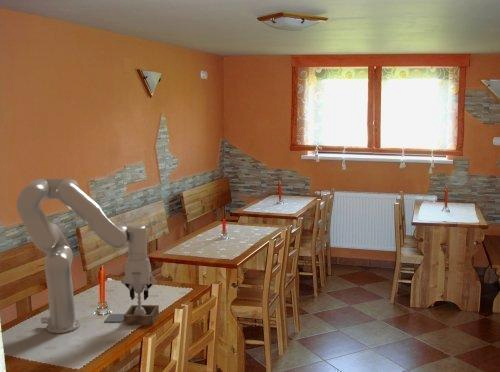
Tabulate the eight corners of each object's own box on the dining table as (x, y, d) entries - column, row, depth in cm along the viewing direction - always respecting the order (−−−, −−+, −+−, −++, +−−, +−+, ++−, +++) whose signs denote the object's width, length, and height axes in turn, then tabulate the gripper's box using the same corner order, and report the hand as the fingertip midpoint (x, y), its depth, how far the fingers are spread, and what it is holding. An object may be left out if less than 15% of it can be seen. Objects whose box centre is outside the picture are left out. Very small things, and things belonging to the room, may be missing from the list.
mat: (104, 322, 231) (104, 321, 231) (110, 314, 239) (110, 314, 239) (123, 322, 231) (123, 321, 231) (128, 314, 238) (128, 313, 238)
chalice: (146, 316, 229) (144, 273, 226) (129, 316, 229) (127, 273, 226) (149, 310, 236) (148, 268, 233) (133, 310, 236) (132, 268, 233)
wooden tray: (124, 325, 228) (123, 315, 227) (132, 314, 239) (131, 305, 238) (152, 325, 227) (152, 315, 226) (159, 314, 238) (158, 305, 238)
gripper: (114, 257, 226) (116, 301, 228) (156, 258, 225) (157, 302, 227) (119, 252, 233) (121, 295, 236) (160, 253, 232) (161, 296, 235)
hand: (139, 298), depth 232 cm, fingers closed on chalice, 4 cm apart
